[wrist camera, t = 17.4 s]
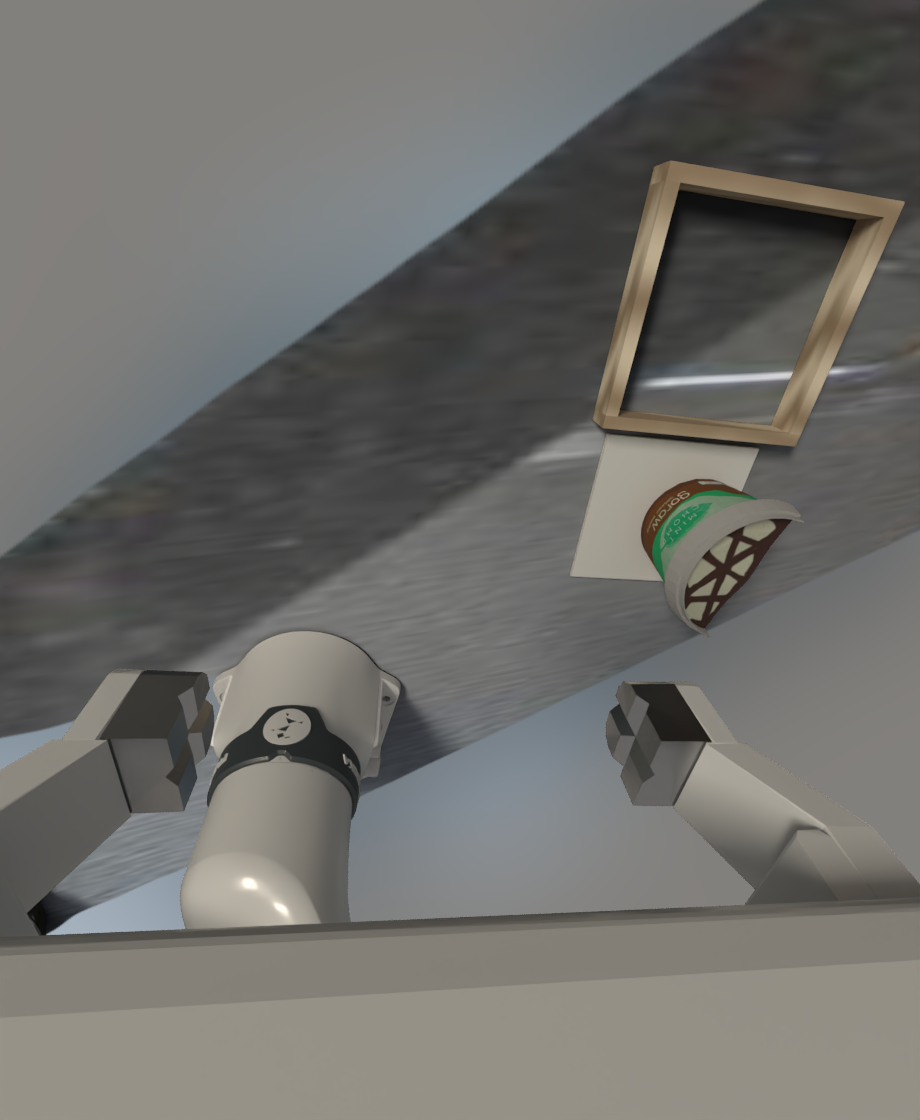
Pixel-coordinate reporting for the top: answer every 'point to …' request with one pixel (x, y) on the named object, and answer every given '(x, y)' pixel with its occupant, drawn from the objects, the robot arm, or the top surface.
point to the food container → (709, 543)
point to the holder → (827, 328)
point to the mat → (644, 497)
